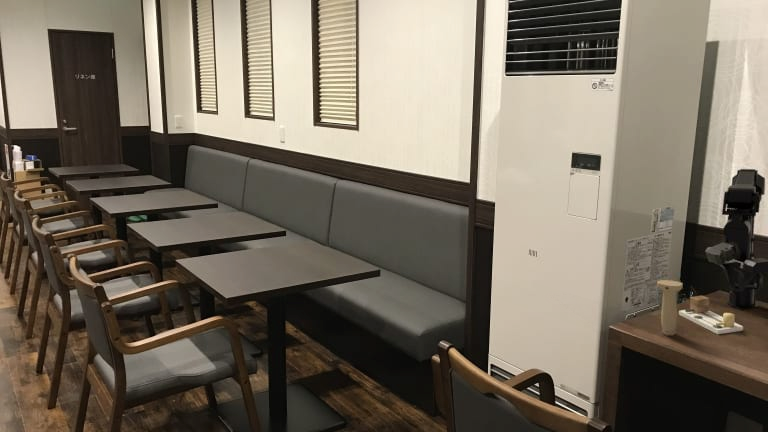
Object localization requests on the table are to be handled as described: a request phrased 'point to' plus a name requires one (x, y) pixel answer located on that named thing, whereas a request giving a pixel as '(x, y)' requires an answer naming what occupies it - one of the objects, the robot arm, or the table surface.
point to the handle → (669, 305)
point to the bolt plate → (713, 321)
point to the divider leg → (698, 304)
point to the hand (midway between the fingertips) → (736, 289)
